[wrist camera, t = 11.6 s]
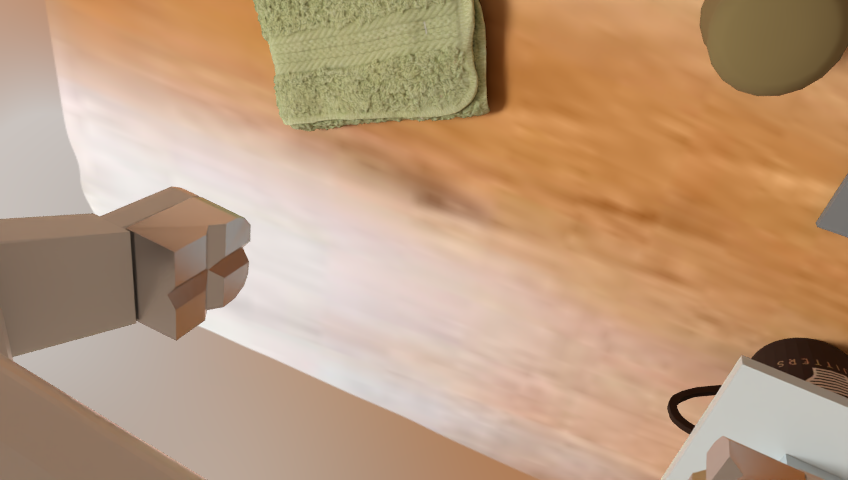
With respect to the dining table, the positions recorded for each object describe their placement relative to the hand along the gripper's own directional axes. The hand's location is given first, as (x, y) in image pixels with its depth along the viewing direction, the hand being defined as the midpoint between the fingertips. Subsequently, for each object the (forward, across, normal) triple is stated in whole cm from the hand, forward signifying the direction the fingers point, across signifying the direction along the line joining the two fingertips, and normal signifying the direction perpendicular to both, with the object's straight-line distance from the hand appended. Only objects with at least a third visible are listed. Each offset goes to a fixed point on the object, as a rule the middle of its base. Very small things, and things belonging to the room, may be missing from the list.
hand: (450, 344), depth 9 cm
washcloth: (+32, +18, +3) cm, 37 cm away
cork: (+31, -5, -4) cm, 32 cm away
